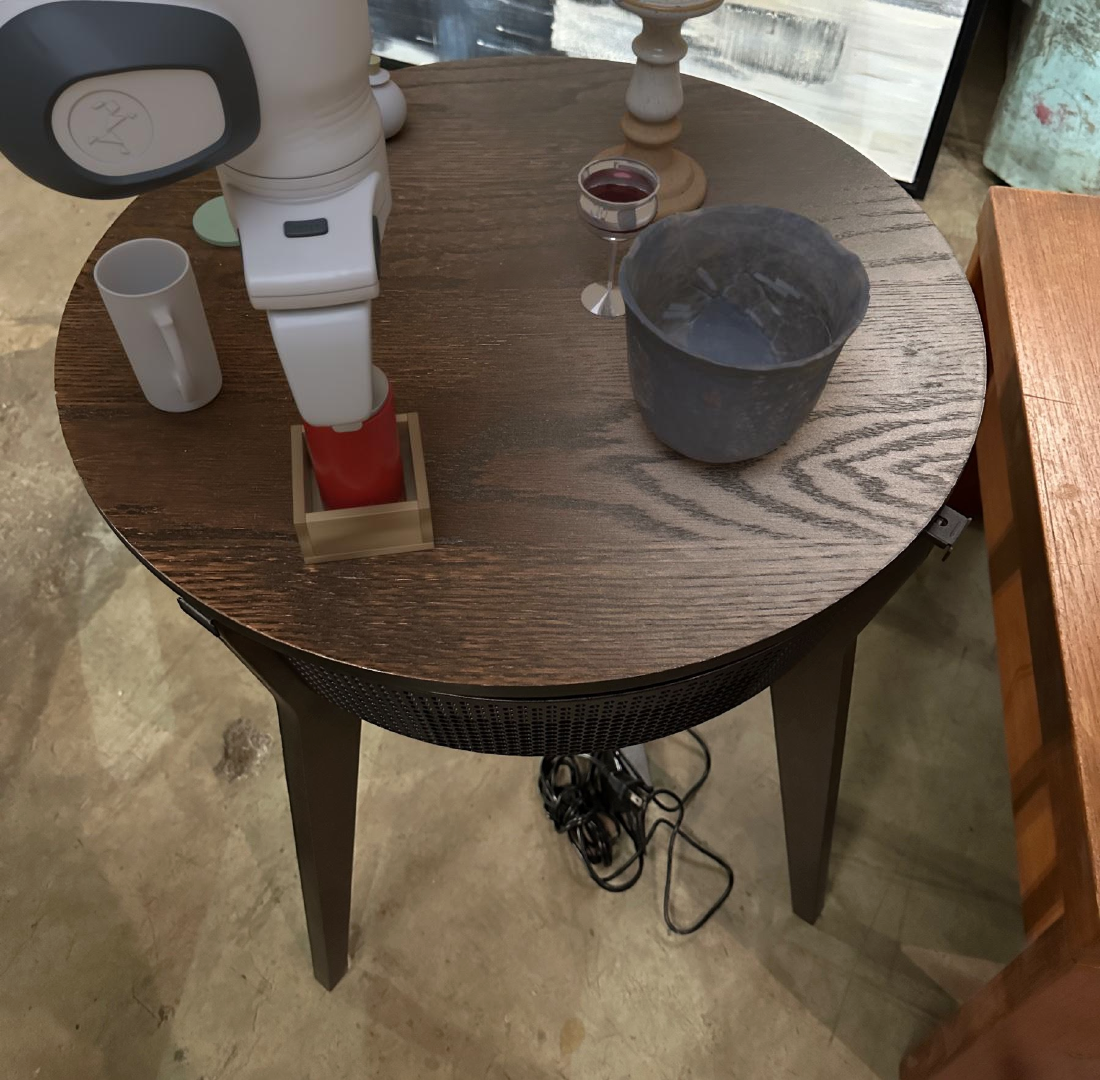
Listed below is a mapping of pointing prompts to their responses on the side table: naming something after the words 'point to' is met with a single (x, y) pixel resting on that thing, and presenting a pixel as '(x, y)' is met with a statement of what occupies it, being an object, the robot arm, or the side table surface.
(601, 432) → the side table surface
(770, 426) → the dark grey metal pot
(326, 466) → the can
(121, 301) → the mug
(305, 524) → the holder
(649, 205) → the wineglass
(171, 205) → the side table surface
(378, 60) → the ornament
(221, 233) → the coaster
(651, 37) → the candle holder
